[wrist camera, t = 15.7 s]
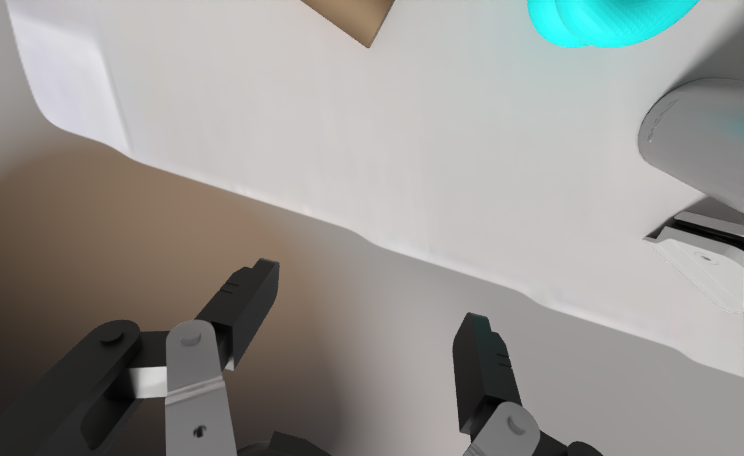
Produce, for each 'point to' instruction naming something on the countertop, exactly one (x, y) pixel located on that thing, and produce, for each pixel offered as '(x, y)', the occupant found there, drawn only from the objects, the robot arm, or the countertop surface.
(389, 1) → the brown wooden stand
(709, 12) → the countertop surface
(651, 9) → the donuts
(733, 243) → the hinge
